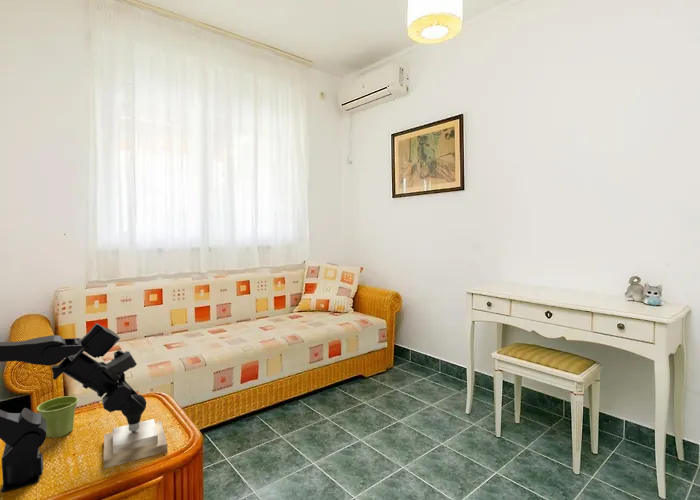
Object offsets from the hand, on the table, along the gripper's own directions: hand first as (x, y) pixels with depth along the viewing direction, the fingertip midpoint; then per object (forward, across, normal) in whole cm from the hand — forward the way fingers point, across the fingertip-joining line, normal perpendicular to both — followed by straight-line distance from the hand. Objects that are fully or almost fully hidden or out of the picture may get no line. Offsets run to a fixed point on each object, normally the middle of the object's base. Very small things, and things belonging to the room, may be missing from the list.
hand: (139, 402), depth 103 cm
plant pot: (-4, +20, +21) cm, 29 cm away
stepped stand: (+7, 0, +9) cm, 12 cm away
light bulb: (+4, 0, +7) cm, 8 cm away
